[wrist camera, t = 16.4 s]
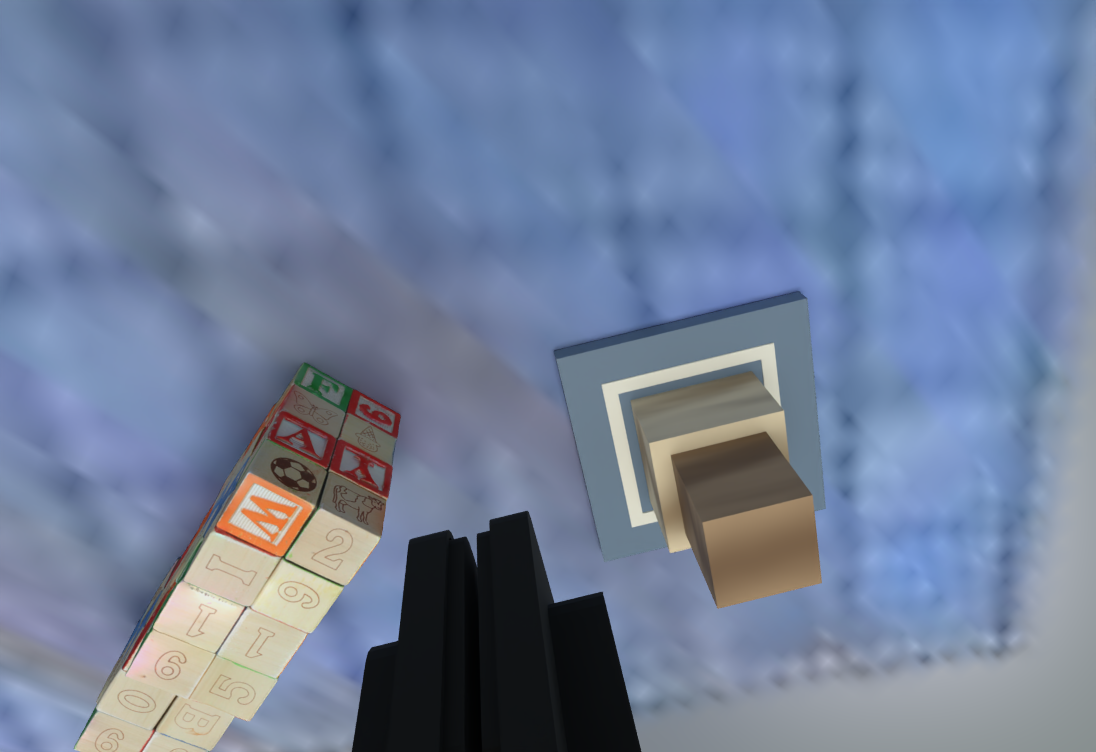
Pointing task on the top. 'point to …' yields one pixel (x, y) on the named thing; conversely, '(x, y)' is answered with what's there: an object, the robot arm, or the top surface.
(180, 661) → the stack of blocks
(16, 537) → the top surface
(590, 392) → the board
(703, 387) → the maple base block
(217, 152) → the top surface
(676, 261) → the top surface
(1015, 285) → the top surface
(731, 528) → the walnut block
